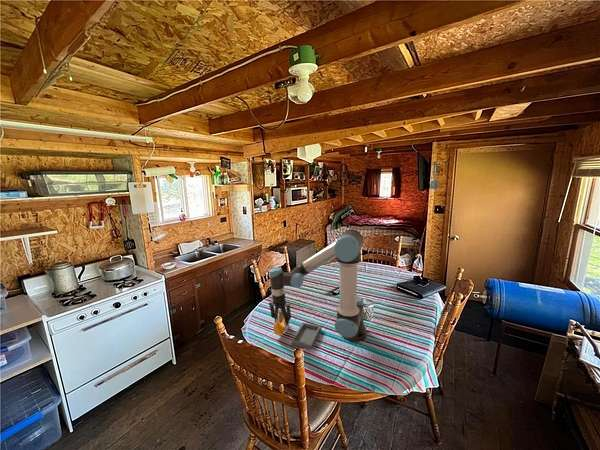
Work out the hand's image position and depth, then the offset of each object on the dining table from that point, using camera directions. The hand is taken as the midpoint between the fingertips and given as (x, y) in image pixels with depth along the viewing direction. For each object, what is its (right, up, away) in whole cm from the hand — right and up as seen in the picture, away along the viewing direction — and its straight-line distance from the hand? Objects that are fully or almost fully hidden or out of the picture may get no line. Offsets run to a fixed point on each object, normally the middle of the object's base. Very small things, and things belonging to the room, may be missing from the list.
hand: (282, 328), depth 148 cm
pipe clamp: (0, 0, +1) cm, 1 cm away
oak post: (-1, -1, +12) cm, 12 cm away
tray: (+15, -3, -4) cm, 16 cm away
